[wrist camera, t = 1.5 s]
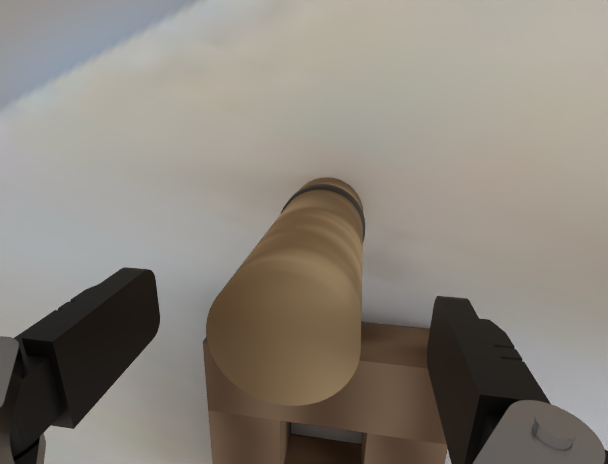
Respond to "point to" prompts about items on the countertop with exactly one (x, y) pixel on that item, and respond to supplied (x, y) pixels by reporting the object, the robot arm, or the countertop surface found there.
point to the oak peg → (296, 301)
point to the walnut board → (338, 411)
